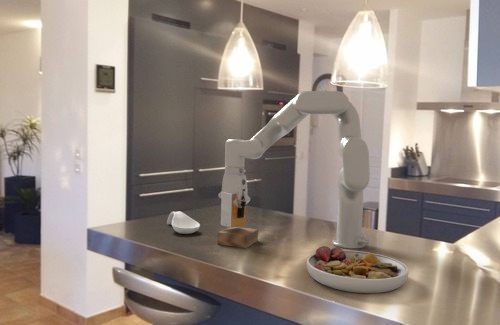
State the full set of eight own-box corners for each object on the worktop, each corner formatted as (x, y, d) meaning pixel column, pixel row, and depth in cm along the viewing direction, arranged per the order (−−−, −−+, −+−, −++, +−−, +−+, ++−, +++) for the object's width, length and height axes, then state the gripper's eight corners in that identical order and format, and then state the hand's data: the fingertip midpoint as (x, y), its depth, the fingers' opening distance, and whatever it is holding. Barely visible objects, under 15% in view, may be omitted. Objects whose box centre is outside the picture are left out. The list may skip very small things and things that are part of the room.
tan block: (257, 241, 185) (258, 229, 185) (246, 248, 174) (246, 235, 174) (230, 238, 190) (230, 226, 189) (217, 245, 179) (217, 232, 178)
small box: (231, 228, 178) (231, 194, 177) (220, 225, 183) (220, 192, 182) (246, 225, 184) (247, 192, 183) (235, 222, 189) (236, 190, 188)
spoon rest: (204, 234, 194) (204, 217, 194) (177, 237, 188) (177, 219, 188) (183, 223, 215) (183, 208, 214) (158, 225, 209) (158, 209, 208)
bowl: (423, 280, 143) (425, 255, 143) (378, 306, 121) (380, 276, 120) (338, 259, 163) (339, 237, 163) (286, 278, 141) (287, 253, 140)
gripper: (257, 172, 179) (256, 218, 181) (224, 168, 190) (223, 212, 192) (245, 173, 174) (244, 220, 175) (211, 169, 184) (210, 214, 186)
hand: (233, 215), depth 183 cm, fingers closed on small box, 6 cm apart
